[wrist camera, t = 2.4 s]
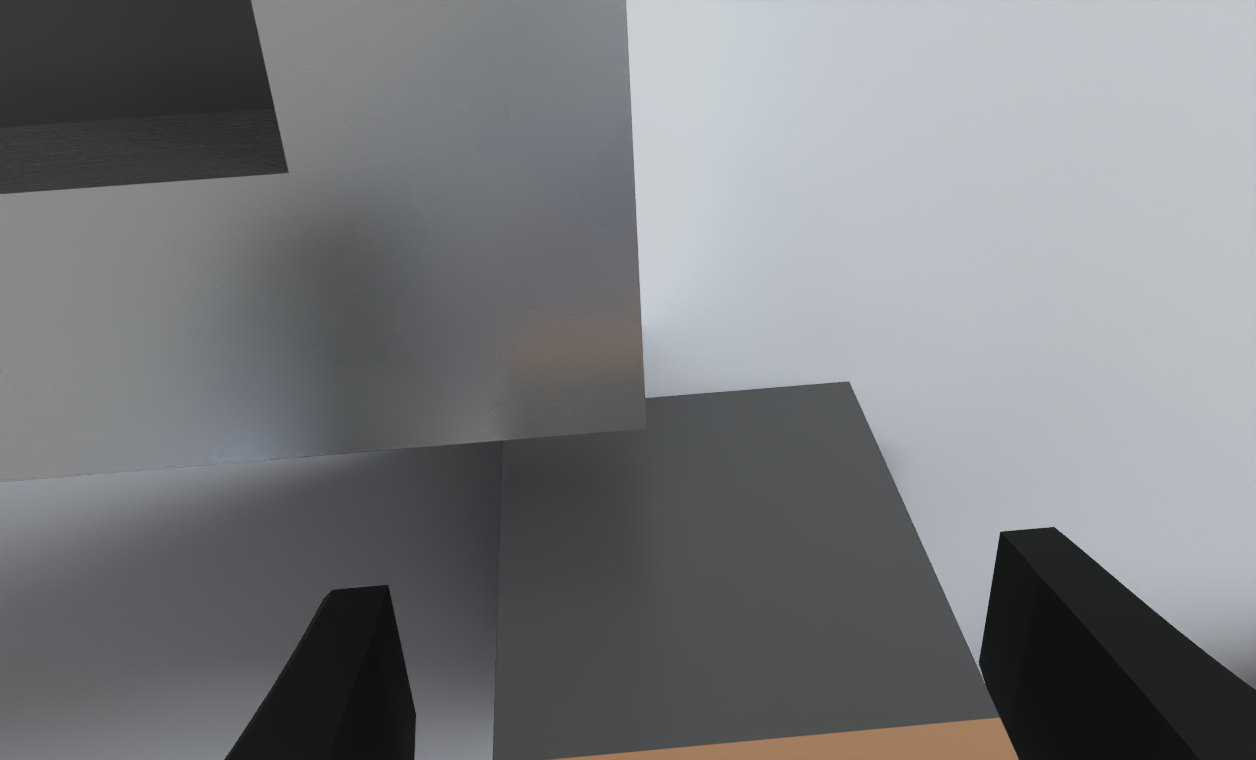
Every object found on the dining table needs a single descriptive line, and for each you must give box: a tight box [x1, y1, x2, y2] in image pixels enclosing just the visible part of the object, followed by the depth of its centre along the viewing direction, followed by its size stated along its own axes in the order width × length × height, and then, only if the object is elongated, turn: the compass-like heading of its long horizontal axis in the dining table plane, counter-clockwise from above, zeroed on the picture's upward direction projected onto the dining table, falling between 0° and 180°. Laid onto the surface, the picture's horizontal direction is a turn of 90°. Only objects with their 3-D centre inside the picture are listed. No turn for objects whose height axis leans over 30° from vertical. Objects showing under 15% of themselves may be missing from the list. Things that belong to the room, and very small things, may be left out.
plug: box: [493, 382, 1019, 760], centre depth 12 cm, size 4×4×6 cm
